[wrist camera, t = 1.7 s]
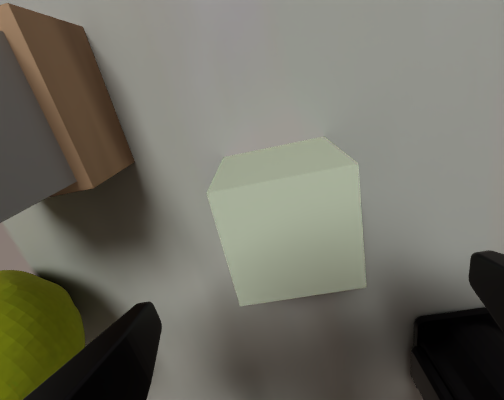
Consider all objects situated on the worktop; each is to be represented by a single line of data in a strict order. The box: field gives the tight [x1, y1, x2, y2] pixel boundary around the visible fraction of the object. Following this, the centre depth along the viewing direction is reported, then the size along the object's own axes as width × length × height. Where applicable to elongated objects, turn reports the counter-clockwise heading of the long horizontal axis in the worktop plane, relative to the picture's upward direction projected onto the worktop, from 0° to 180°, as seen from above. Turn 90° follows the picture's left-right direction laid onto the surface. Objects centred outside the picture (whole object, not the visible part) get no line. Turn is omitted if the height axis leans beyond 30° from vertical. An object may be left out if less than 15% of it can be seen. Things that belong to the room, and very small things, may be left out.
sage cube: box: [206, 137, 367, 306], centre depth 12 cm, size 5×5×5 cm
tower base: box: [0, 3, 135, 198], centre depth 11 cm, size 6×6×4 cm
